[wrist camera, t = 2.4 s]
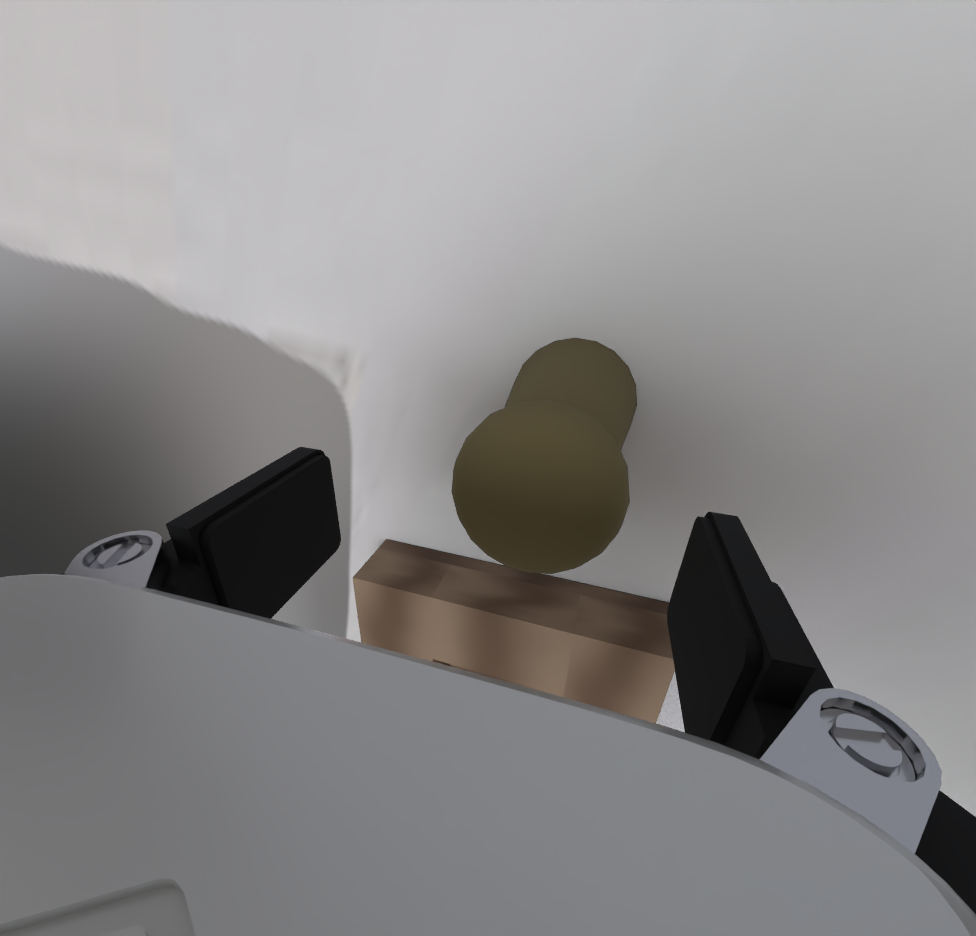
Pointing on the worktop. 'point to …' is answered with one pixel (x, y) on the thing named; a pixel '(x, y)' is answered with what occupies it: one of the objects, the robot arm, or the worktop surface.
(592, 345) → the olive pepper mill
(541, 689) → the walnut holder
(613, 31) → the worktop surface
